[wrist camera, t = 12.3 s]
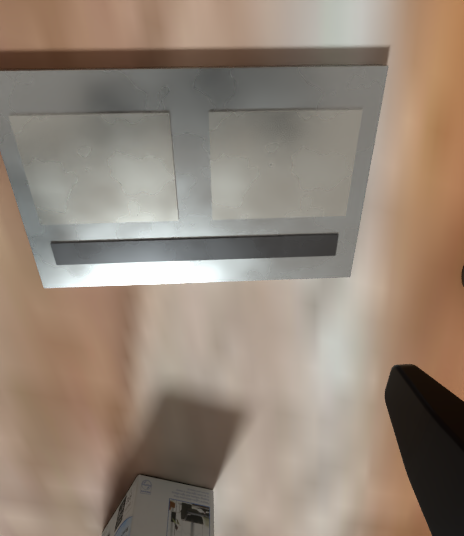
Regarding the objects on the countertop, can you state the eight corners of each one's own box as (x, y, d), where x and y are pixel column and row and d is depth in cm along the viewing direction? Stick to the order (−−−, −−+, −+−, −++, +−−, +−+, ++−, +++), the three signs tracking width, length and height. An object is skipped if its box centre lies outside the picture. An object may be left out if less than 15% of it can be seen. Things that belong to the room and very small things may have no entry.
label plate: (48, 281, 21) (43, 289, 20) (-17, 69, 15) (-27, 71, 15) (346, 271, 21) (350, 277, 21) (382, 64, 16) (389, 66, 15)
